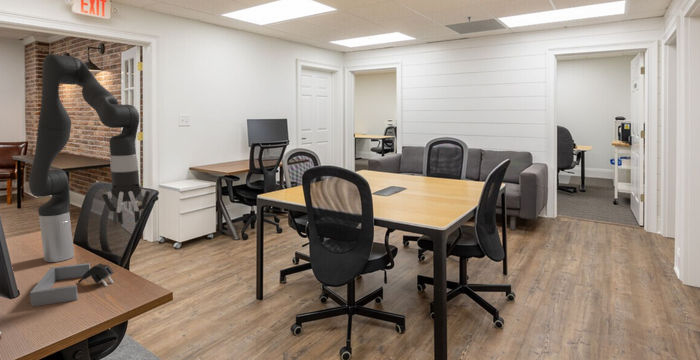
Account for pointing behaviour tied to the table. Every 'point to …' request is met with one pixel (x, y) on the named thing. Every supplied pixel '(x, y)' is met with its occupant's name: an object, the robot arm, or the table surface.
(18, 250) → the table surface
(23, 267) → the table surface
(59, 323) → the table surface
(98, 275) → the power plug
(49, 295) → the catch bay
